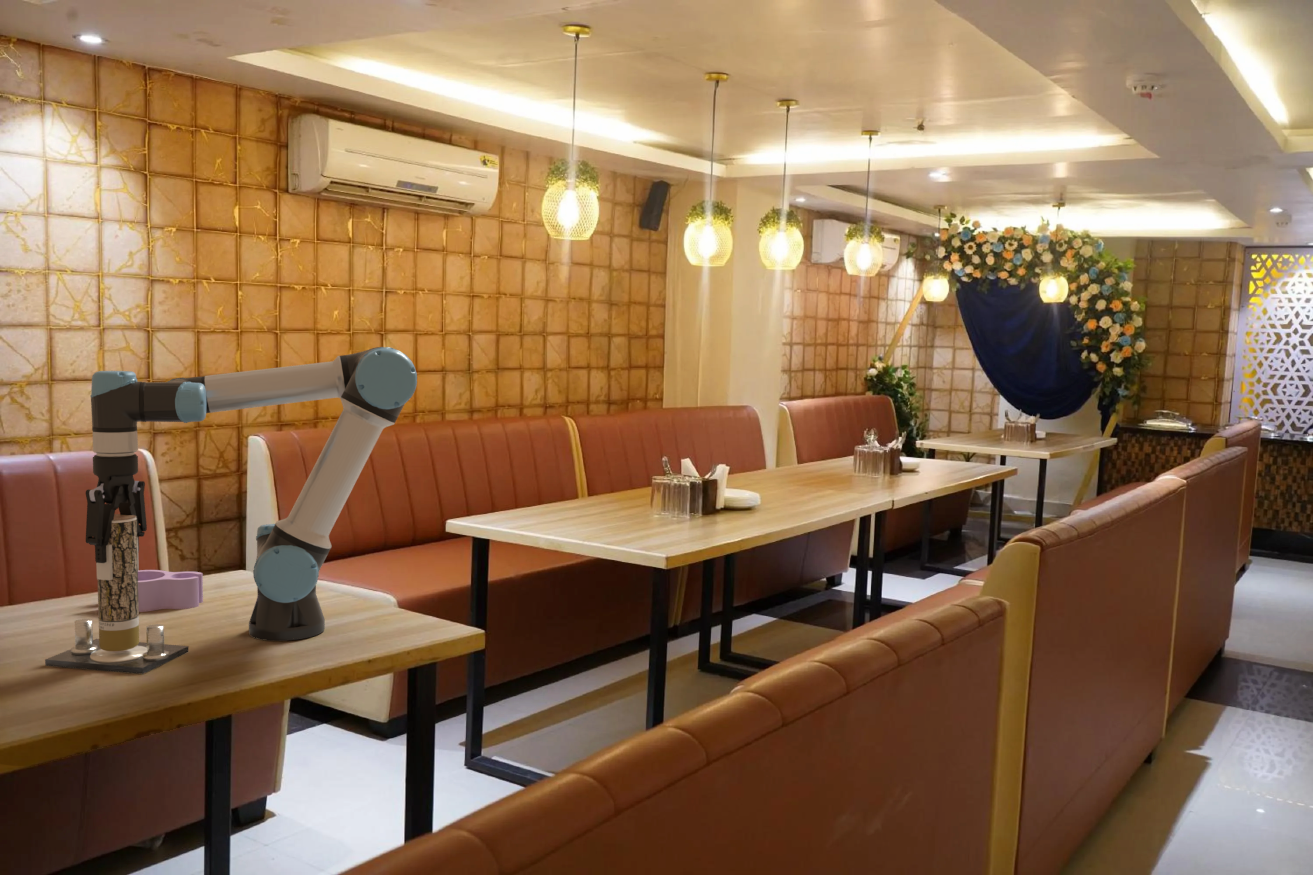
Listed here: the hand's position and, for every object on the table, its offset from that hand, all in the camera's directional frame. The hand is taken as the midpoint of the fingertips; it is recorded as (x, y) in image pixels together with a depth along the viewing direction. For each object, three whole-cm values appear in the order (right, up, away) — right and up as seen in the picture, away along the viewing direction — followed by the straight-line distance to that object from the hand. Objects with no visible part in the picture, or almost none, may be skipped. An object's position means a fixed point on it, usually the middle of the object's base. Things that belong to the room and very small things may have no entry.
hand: (118, 574), depth 200 cm
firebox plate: (-1, -16, +3) cm, 17 cm away
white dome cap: (0, -15, +2) cm, 15 cm away
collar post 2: (+7, -16, 0) cm, 17 cm away
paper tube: (0, -14, +1) cm, 14 cm away
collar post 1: (-8, -15, +3) cm, 17 cm away
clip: (-13, -13, +42) cm, 46 cm away
